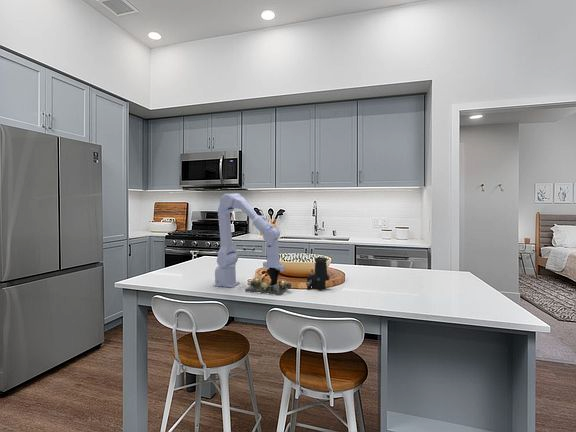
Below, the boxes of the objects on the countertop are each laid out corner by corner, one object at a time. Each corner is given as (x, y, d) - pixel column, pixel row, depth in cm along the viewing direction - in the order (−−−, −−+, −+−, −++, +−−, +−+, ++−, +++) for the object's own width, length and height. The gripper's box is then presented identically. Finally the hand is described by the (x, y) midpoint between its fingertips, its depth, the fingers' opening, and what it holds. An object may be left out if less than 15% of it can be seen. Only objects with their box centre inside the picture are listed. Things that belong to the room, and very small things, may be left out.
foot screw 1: (255, 282, 155) (254, 277, 155) (262, 283, 154) (261, 278, 154) (248, 287, 148) (248, 281, 148) (255, 287, 147) (255, 282, 147)
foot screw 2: (277, 286, 149) (277, 280, 148) (283, 284, 151) (283, 279, 151) (287, 290, 143) (287, 284, 143) (293, 288, 145) (293, 282, 145)
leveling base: (245, 291, 147) (245, 287, 147) (256, 284, 157) (256, 280, 157) (280, 295, 141) (280, 291, 141) (289, 287, 151) (289, 283, 151)
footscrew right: (264, 290, 143) (264, 284, 143) (259, 288, 146) (259, 283, 146) (276, 286, 148) (276, 281, 148) (271, 284, 151) (271, 279, 151)
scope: (310, 256, 154) (331, 257, 150) (310, 284, 155) (331, 286, 151) (305, 259, 146) (327, 261, 142) (305, 290, 147) (327, 292, 144)
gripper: (256, 254, 150) (258, 283, 151) (274, 258, 139) (276, 289, 140) (269, 251, 155) (271, 279, 156) (287, 255, 143) (289, 285, 144)
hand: (274, 284), depth 148 cm, fingers closed, pressing on footscrew right
